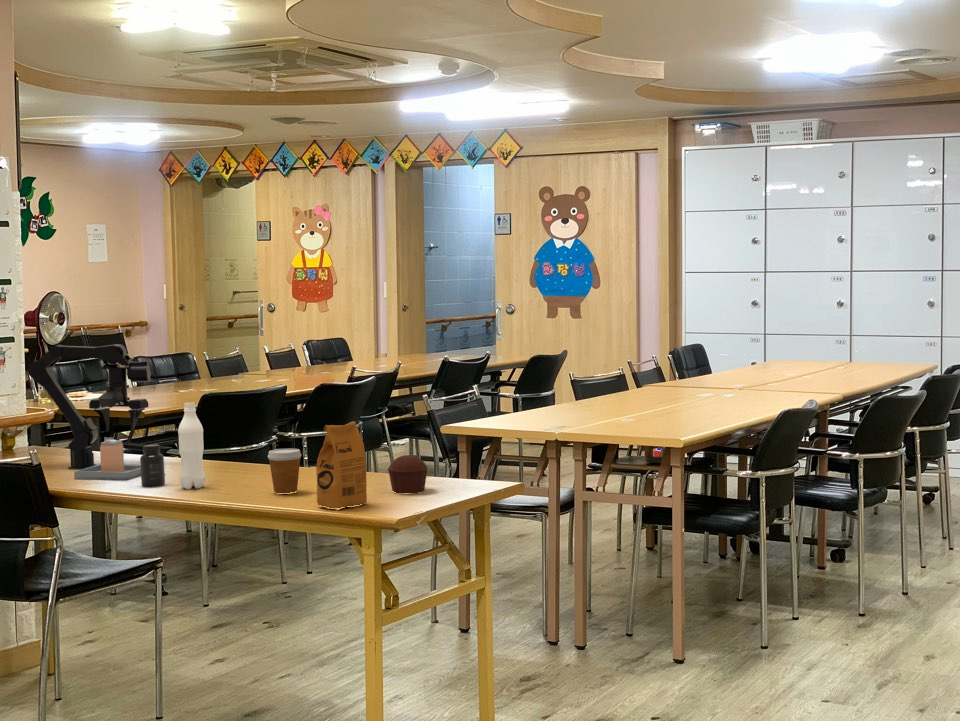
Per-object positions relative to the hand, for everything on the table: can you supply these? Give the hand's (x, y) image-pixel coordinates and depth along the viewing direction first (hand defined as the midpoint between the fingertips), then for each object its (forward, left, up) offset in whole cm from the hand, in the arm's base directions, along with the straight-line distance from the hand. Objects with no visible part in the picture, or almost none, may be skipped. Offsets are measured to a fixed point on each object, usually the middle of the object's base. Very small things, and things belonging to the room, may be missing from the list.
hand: (119, 430), depth 388 cm
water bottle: (+44, -34, -12) cm, 57 cm away
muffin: (+109, -31, -12) cm, 114 cm away
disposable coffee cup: (+75, -38, -12) cm, 85 cm away
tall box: (+8, -18, -11) cm, 23 cm away
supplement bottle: (+30, -32, -12) cm, 45 cm away
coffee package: (+98, -54, -12) cm, 113 cm away
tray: (+8, -18, -12) cm, 23 cm away
